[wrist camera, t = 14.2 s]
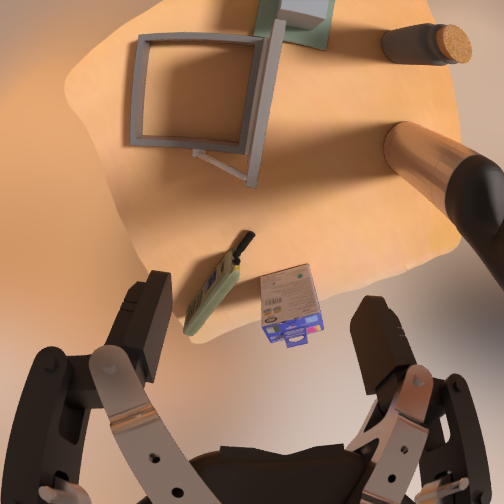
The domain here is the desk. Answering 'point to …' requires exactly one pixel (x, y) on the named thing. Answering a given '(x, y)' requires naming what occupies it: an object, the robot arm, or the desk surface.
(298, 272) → the ink cartridge box
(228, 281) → the handheld radio
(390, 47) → the bottle
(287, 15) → the block
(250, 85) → the case
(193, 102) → the desk surface
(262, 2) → the mat
